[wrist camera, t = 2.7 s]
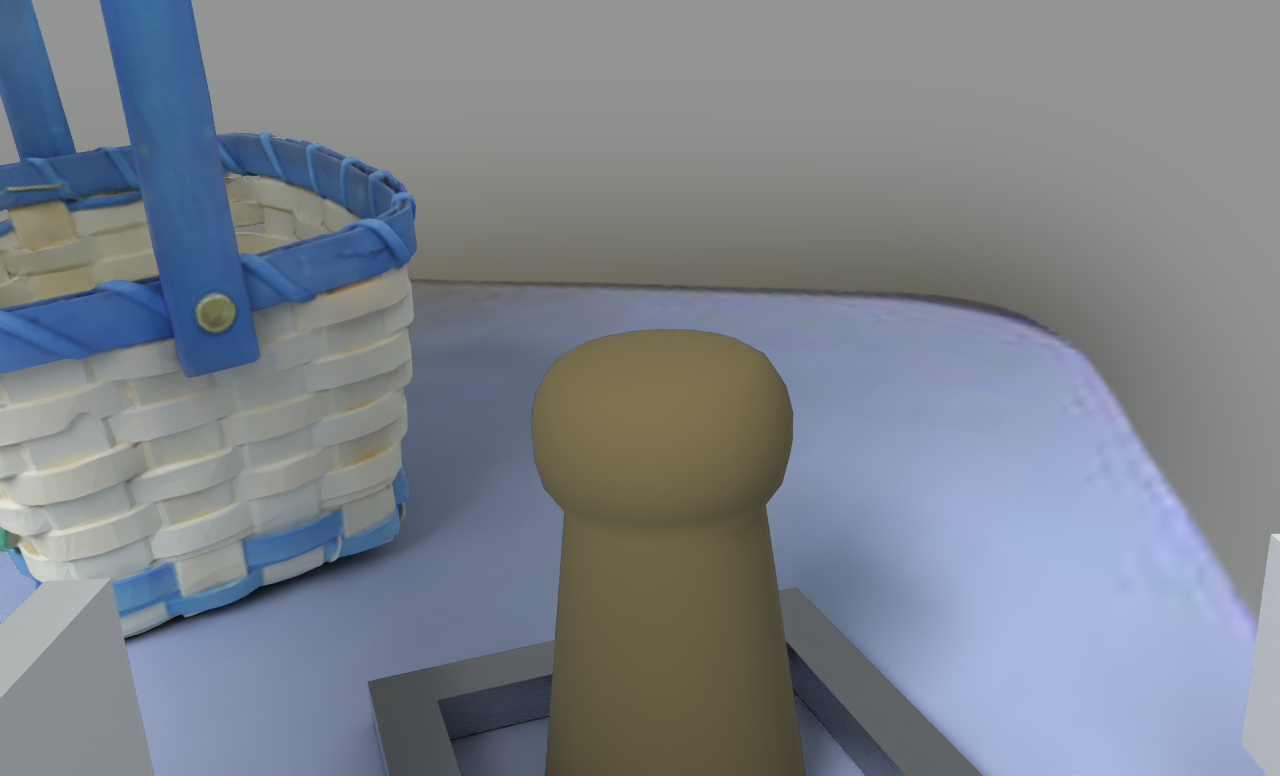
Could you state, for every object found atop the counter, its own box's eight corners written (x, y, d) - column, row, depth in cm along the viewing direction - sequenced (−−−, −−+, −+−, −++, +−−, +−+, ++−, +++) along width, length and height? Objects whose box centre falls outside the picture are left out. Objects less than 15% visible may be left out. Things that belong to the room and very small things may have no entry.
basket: (-114, 509, 44) (-309, -179, 36) (309, 409, 52) (225, -165, 44) (-70, 804, 28) (-410, -337, 20) (534, 590, 36) (465, -268, 28)
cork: (709, 958, 22) (695, 422, 19) (485, 831, 26) (435, 361, 22) (859, 787, 27) (872, 327, 23) (651, 699, 30) (633, 289, 27)
